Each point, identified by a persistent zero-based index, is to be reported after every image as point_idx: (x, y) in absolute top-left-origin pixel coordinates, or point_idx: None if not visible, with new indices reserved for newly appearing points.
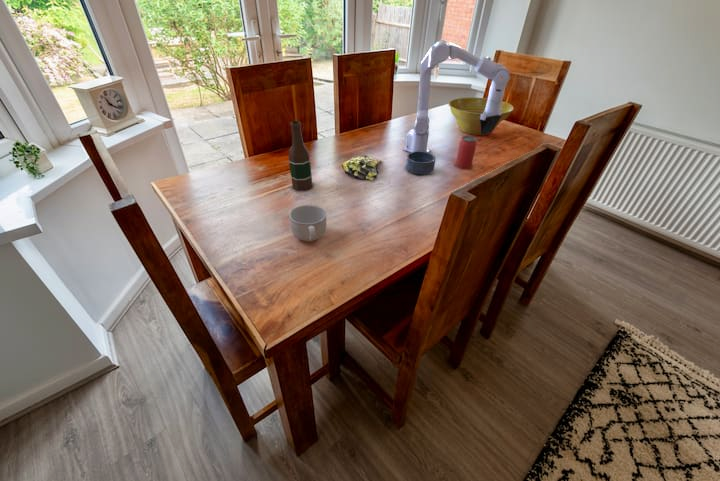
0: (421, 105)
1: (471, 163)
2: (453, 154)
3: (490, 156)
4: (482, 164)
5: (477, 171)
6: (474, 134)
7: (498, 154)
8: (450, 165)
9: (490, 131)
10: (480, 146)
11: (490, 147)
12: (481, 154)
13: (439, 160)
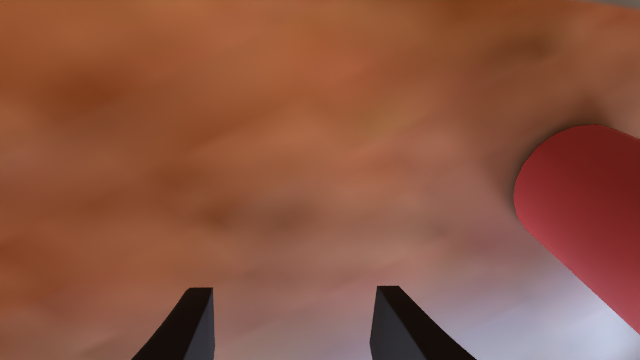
0: None
1: (608, 133)
2: None
3: (221, 109)
4: (447, 81)
5: (611, 46)
6: None
7: (108, 72)
8: None
9: (211, 310)
10: (75, 278)
11: (11, 208)
12: (241, 189)
13: (556, 334)
